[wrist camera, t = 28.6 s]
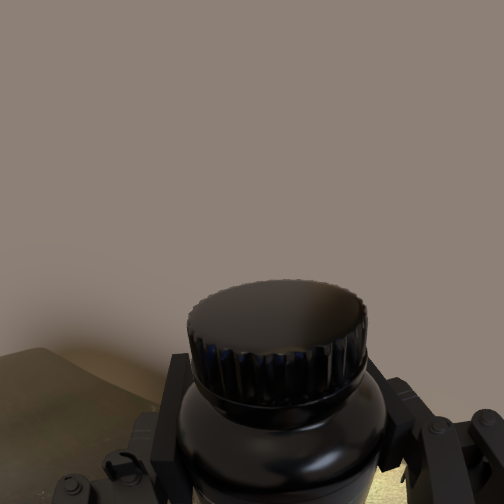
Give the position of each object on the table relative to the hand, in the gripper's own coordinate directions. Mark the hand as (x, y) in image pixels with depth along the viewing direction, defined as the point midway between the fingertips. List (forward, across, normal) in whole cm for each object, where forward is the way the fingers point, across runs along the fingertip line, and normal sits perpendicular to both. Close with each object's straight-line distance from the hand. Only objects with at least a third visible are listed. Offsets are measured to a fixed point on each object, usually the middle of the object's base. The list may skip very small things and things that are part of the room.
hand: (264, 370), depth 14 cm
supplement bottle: (-5, 0, -7) cm, 8 cm away
